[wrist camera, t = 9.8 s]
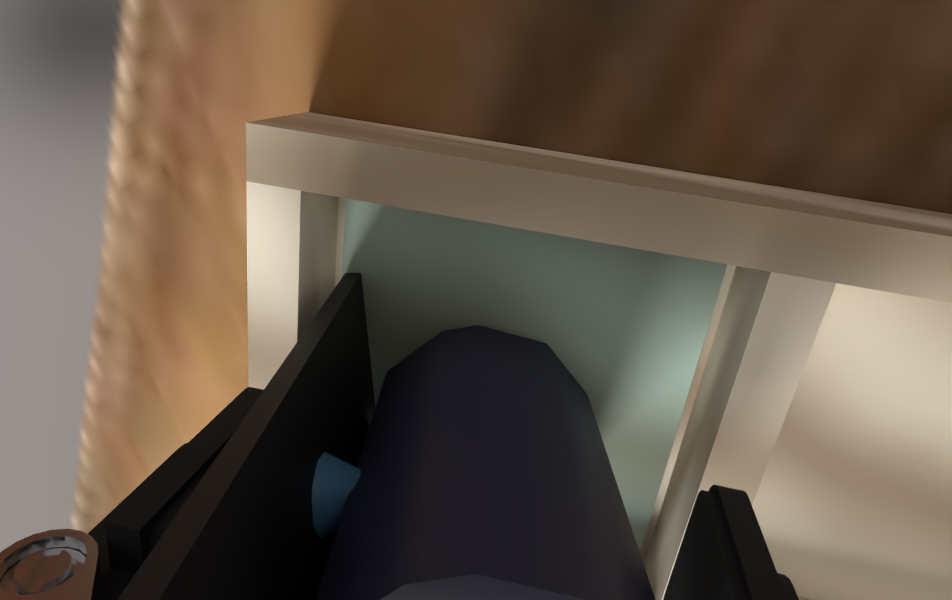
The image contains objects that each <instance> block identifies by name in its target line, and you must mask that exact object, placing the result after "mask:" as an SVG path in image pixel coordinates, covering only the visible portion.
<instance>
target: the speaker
mask: <svg viewBox="0 0 952 600" xmlns="http://www.w3.org/2000/svg"><path fill="white" fill-rule="evenodd" d="M118 600H655V597H654V594H653V591H652V588H651V585H650V582H649V579H648V576H647V573H646V570H645V567H644V564H643V561H642V558H641V555H640V552H639V549H638V546H637V543H636V540H635V537H634V534H633V531H632V528H631V525H630V522H629V519H628V516H627V513H626V509H625V506H624V503H623V500H622V497H621V494H620V491H619V488H618V485H617V482H616V479H615V476H614V473H613V470H612V467H611V464H610V461H609V458H608V455H607V452H606V449H605V446H604V443H603V440H602V437H601V434H600V431H599V428H598V425H597V422H596V419H595V416H594V413H593V410H592V407H591V404H590V401H589V398H588V395H587V393H586V392H585V391H584V390H583V388H582V387H581V386H580V385H579V383H578V382H577V381H576V379H575V378H574V377H573V376H572V374H571V373H570V372H569V371H568V369H567V368H566V367H565V366H564V364H563V363H562V362H561V361H560V359H559V358H558V357H557V356H556V354H555V353H554V352H553V351H552V349H551V348H550V347H549V346H548V344H547V343H543V342H539V341H536V340H532V339H528V338H525V337H521V336H517V335H513V334H510V333H506V332H502V331H499V330H495V329H491V328H488V327H484V326H480V325H474V326H469V327H463V328H458V329H452V330H446V331H442V332H440V333H439V334H438V335H436V336H435V337H433V338H432V339H431V340H429V341H428V342H427V343H425V344H424V345H423V346H421V347H420V348H418V349H417V350H416V351H414V352H413V353H412V354H410V355H409V356H407V357H406V358H405V359H403V360H402V361H401V362H399V363H398V364H397V365H395V366H394V367H392V368H391V369H390V370H388V371H387V373H386V376H385V379H384V382H383V385H382V389H381V392H380V395H379V398H378V401H377V405H376V408H375V398H374V389H373V380H372V370H371V361H370V351H369V342H368V333H367V323H366V314H365V304H364V295H363V286H362V276H361V273H345V274H344V276H343V277H342V279H341V280H340V281H339V283H338V284H337V286H336V287H335V289H334V290H333V291H332V293H331V294H330V296H329V297H328V299H327V300H326V301H325V303H324V304H323V306H322V307H321V309H320V310H319V311H318V313H317V314H316V316H315V317H314V319H313V320H312V322H311V323H310V324H309V326H308V327H307V329H306V330H305V332H304V333H303V334H302V336H301V337H300V339H299V340H298V342H297V343H296V344H295V346H294V347H293V349H292V350H291V352H290V353H289V355H288V356H287V357H286V359H285V360H284V362H283V363H282V365H281V366H280V367H279V369H278V370H277V372H276V373H275V375H274V376H273V377H272V379H271V380H270V382H269V383H268V385H267V386H266V387H265V389H264V390H263V392H262V393H261V395H260V396H259V398H258V399H257V400H256V402H255V403H254V405H253V406H252V408H251V409H250V410H249V412H248V413H247V415H246V416H245V418H244V419H243V420H242V422H241V423H240V425H239V426H238V428H237V429H236V430H235V432H234V433H233V435H232V436H231V438H230V439H229V441H228V442H227V443H226V445H225V446H224V448H223V449H222V451H221V452H220V453H219V455H218V456H217V458H216V459H215V461H214V462H213V463H212V465H211V466H210V468H209V469H208V471H207V472H206V473H205V475H204V476H203V478H202V479H201V481H200V482H199V484H198V485H197V486H196V488H195V489H194V491H193V492H192V494H191V495H190V496H189V498H188V499H187V501H186V502H185V504H184V505H183V506H182V508H181V509H180V511H179V512H178V514H177V515H176V516H175V518H174V519H173V521H172V522H171V524H170V525H169V527H168V528H167V529H166V531H165V532H164V534H163V535H162V537H161V538H160V539H159V541H158V542H157V544H156V545H155V547H154V548H153V549H152V551H151V552H150V554H149V555H148V557H147V558H146V559H145V561H144V562H143V564H142V565H141V567H140V568H139V570H138V571H137V572H136V574H135V575H134V577H133V578H132V580H131V581H130V582H129V584H128V585H127V587H126V588H125V590H124V591H123V592H122V594H121V595H120V597H119V598H118Z"/></svg>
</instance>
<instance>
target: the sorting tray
mask: <svg viewBox="0 0 952 600" xmlns="http://www.w3.org/2000/svg"><path fill="white" fill-rule="evenodd" d="M246 181H247V279H248V378H249V387H253V388H258V389H263V390H264V389H265V387H266V386H267V385H268V383H269V382H270V380H271V379H272V377H273V376H274V375H275V373H276V372H277V370H278V369H279V367H280V366H281V365H282V363H283V362H284V360H285V359H286V357H287V356H288V355H289V353H290V352H291V350H292V349H293V347H294V346H295V344H296V343H297V342H298V340H299V339H300V337H301V336H302V334H303V333H304V332H305V330H306V329H307V327H308V326H309V324H310V323H311V322H312V320H313V319H314V317H315V316H316V314H317V313H318V311H319V310H320V309H321V307H322V306H323V304H324V303H325V301H326V300H327V299H328V297H329V296H330V294H331V293H332V291H333V290H334V289H335V287H336V286H337V284H338V283H339V281H340V280H341V279H342V277H343V276H344V274H345V273H361V276H362V286H363V295H364V304H365V314H366V323H367V333H368V342H369V351H370V361H371V370H372V380H373V389H374V398H375V408H376V405H377V401H378V398H379V395H380V392H381V389H382V385H383V382H384V379H385V376H386V373H387V371H388V370H390V369H391V368H392V367H394V366H395V365H397V364H398V363H399V362H401V361H402V360H403V359H405V358H406V357H407V356H409V355H410V354H412V353H413V352H414V351H416V350H417V349H418V348H420V347H421V346H423V345H424V344H425V343H427V342H428V341H429V340H431V339H432V338H433V337H435V336H436V335H438V334H439V333H440V332H442V331H446V330H452V329H458V328H463V327H469V326H474V325H480V326H484V327H488V328H491V329H495V330H499V331H502V332H506V333H510V334H513V335H517V336H521V337H525V338H528V339H532V340H536V341H539V342H543V343H547V344H548V346H549V347H550V348H551V349H552V351H553V352H554V353H555V354H556V356H557V357H558V358H559V359H560V361H561V362H562V363H563V364H564V366H565V367H566V368H567V369H568V371H569V372H570V373H571V374H572V376H573V377H574V378H575V379H576V381H577V382H578V383H579V385H580V386H581V387H582V388H583V390H584V391H585V392H586V393H587V395H588V398H589V401H590V404H591V407H592V410H593V413H594V416H595V419H596V422H597V425H598V428H599V431H600V434H601V437H602V440H603V443H604V446H605V449H606V452H607V455H608V458H609V461H610V464H611V467H612V470H613V473H614V476H615V479H616V482H617V485H618V488H619V491H620V494H621V497H622V500H623V503H624V506H625V509H626V513H627V516H628V519H629V522H630V525H631V528H632V531H633V534H634V537H635V540H636V543H637V546H638V549H639V552H640V555H641V558H642V561H643V564H644V567H645V570H646V573H647V576H648V579H649V582H650V585H651V588H652V591H653V594H654V597H655V600H663V598H664V594H665V591H666V588H667V585H668V582H669V579H670V576H671V573H672V570H673V567H674V564H675V561H676V558H677V555H678V552H679V549H680V546H681V543H682V540H683V537H684V534H685V531H686V528H687V525H688V522H689V519H690V516H691V513H692V510H693V507H694V504H695V501H696V498H697V496H698V493H699V492H700V491H701V490H704V491H709V489H710V487H711V486H712V485H719V486H724V487H728V488H733V489H738V490H743V491H745V492H746V493H747V495H748V497H749V499H750V502H751V505H752V507H753V510H754V513H755V515H756V518H757V521H758V523H759V526H760V528H761V531H762V534H763V536H764V539H765V542H766V544H767V547H768V550H769V552H770V555H771V558H772V560H773V563H774V565H775V568H776V571H777V573H779V574H784V575H786V576H787V577H788V578H789V579H790V580H791V582H792V584H793V586H794V588H795V591H796V593H797V596H798V598H799V600H952V214H949V213H942V212H936V211H930V210H923V209H917V208H911V207H904V206H898V205H892V204H886V203H879V202H873V201H867V200H860V199H854V198H848V197H841V196H835V195H829V194H822V193H816V192H810V191H803V190H797V189H791V188H784V187H778V186H772V185H765V184H759V183H753V182H746V181H740V180H734V179H728V178H721V177H715V176H709V175H702V174H696V173H690V172H683V171H677V170H671V169H664V168H658V167H652V166H645V165H639V164H633V163H626V162H620V161H614V160H607V159H601V158H595V157H589V156H582V155H576V154H570V153H563V152H557V151H551V150H544V149H538V148H532V147H525V146H519V145H513V144H506V143H500V142H494V141H487V140H481V139H475V138H468V137H462V136H456V135H449V134H443V133H437V132H431V131H424V130H418V129H412V128H405V127H399V126H393V125H386V124H380V123H374V122H367V121H361V120H355V119H348V118H342V117H336V116H329V115H323V114H317V113H310V112H305V113H300V114H294V115H288V116H282V117H276V118H270V119H264V120H258V121H252V122H246Z"/></svg>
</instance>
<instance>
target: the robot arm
mask: <svg viewBox="0 0 952 600" xmlns="http://www.w3.org/2000/svg"><path fill="white" fill-rule="evenodd" d="M262 392H263V389H258V388H253V387H248V388H246V389H245V390H244V391H242V392H241V393H240V394H239V395H238V396H237V397H236V398H235V399H234V400H233V401H232V402H231V403H230V404H229V405H228V406H227V407H226V408H225V409H223V410H222V411H221V412H220V413H219V414H218V415H217V416H216V417H215V418H214V419H213V420H212V421H211V422H210V423H209V424H208V425H207V426H206V427H204V428H203V429H202V430H201V431H200V432H199V433H198V434H197V435H196V436H195V437H194V438H193V439H192V440H191V441H190V442H189V443H186V444H184V445H183V446H181V447H180V448H179V449H178V450H176V451H175V452H174V453H173V454H172V455H171V456H170V457H169V458H168V459H167V460H166V461H165V462H164V463H163V464H162V465H161V466H159V467H158V468H157V469H156V470H155V471H154V472H153V473H152V474H151V475H150V476H149V477H148V478H147V479H146V480H145V481H143V482H142V483H141V484H140V485H139V486H138V487H137V488H136V489H135V490H134V491H133V492H132V493H131V494H130V495H129V496H128V497H126V498H125V499H124V500H123V501H122V502H121V503H120V504H119V505H118V506H117V507H116V508H115V509H114V510H113V511H112V512H110V513H109V514H108V515H107V516H106V517H105V518H104V519H103V520H102V521H101V522H100V523H99V524H98V525H97V526H96V527H94V528H93V529H92V530H91V531H90V532H89V533H88V534H87V533H85V532H83V531H79V530H73V529H56V530H49V531H45V532H41V533H37V534H33V535H31V536H29V537H26V538H24V539H21V540H19V541H17V542H15V543H14V544H12V545H11V546H9V547H7V548H6V549H4V550H3V551H2V552H0V600H118V598H119V597H120V595H121V594H122V592H123V591H124V590H125V588H126V587H127V585H128V584H129V582H130V581H131V580H132V578H133V577H134V575H135V574H136V572H137V571H138V570H139V568H140V567H141V565H142V564H143V562H144V561H145V559H146V558H147V557H148V555H149V554H150V552H151V551H152V549H153V548H154V547H155V545H156V544H157V542H158V541H159V539H160V538H161V537H162V535H163V534H164V532H165V531H166V529H167V528H168V527H169V525H170V524H171V522H172V521H173V519H174V518H175V516H176V515H177V514H178V512H179V511H180V509H181V508H182V506H183V505H184V504H185V502H186V501H187V499H188V498H189V496H190V495H191V494H192V492H193V491H194V489H195V488H196V486H197V485H198V484H199V482H200V481H201V479H202V478H203V476H204V475H205V473H206V472H207V471H208V469H209V468H210V466H211V465H212V463H213V462H214V461H215V459H216V458H217V456H218V455H219V453H220V452H221V451H222V449H223V448H224V446H225V445H226V443H227V442H228V441H229V439H230V438H231V436H232V435H233V433H234V432H235V430H236V429H237V428H238V426H239V425H240V423H241V422H242V420H243V419H244V418H245V416H246V415H247V413H248V412H249V410H250V409H251V408H252V406H253V405H254V403H255V402H256V400H257V399H258V398H259V396H260V395H261V393H262ZM663 600H799V598H798V596H797V593H796V591H795V588H794V586H793V584H792V582H791V580H790V579H789V578H788V577H787V576H786V575H784V574H779V573H777V571H776V568H775V565H774V563H773V560H772V558H771V555H770V552H769V550H768V547H767V544H766V542H765V539H764V536H763V534H762V531H761V528H760V526H759V523H758V521H757V518H756V515H755V513H754V510H753V507H752V505H751V502H750V499H749V497H748V495H747V493H746V492H745V491H743V490H738V489H733V488H728V487H724V486H719V485H712V486H711V487H710V489H709V491H704V490H701V491H700V492H699V493H698V496H697V498H696V501H695V504H694V507H693V510H692V513H691V516H690V519H689V522H688V525H687V528H686V531H685V534H684V537H683V540H682V543H681V546H680V549H679V552H678V555H677V558H676V561H675V564H674V567H673V570H672V573H671V576H670V579H669V582H668V585H667V588H666V591H665V594H664V598H663Z"/></svg>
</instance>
